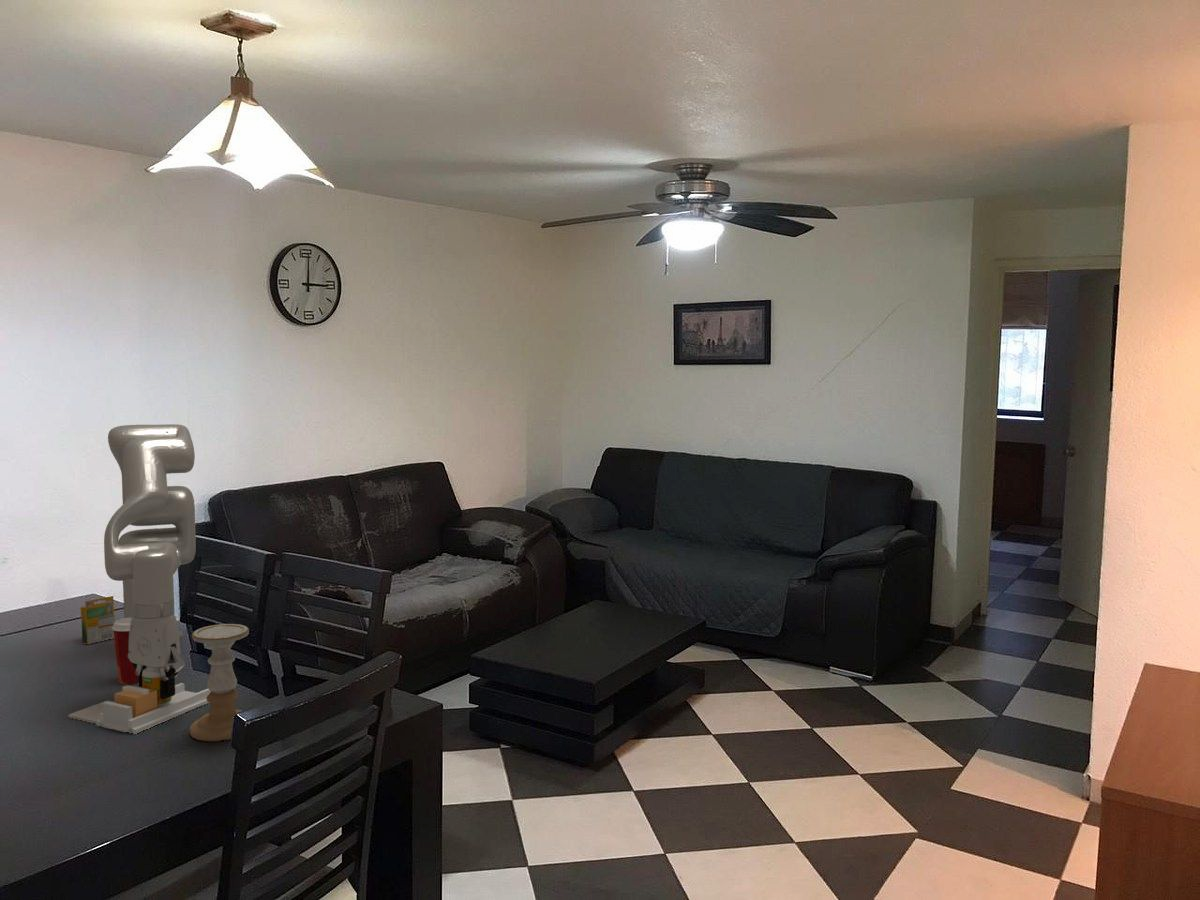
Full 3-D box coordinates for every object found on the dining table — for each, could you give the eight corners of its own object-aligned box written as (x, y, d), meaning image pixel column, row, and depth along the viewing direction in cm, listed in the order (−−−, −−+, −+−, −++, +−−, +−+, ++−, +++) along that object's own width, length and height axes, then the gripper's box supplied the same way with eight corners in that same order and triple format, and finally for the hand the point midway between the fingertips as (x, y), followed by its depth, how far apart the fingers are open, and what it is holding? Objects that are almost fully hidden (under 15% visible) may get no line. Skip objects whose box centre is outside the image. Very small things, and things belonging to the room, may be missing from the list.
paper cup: (158, 678, 212) (156, 618, 211) (129, 688, 205) (127, 627, 204) (135, 673, 216) (133, 614, 214) (105, 682, 209) (103, 622, 207)
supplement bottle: (138, 708, 188) (136, 662, 187) (149, 699, 193) (147, 654, 192) (165, 708, 188) (164, 661, 187) (175, 698, 194) (174, 653, 193)
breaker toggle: (136, 709, 189) (135, 682, 189) (157, 714, 187) (156, 686, 186) (115, 717, 185) (114, 689, 184) (136, 722, 182) (135, 694, 182)
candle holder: (191, 746, 174) (188, 643, 172) (187, 724, 185) (184, 626, 183) (260, 735, 180) (257, 634, 178) (252, 714, 191) (250, 619, 189)
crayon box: (110, 636, 244) (108, 594, 243) (115, 638, 242) (114, 595, 241) (81, 643, 238) (79, 599, 237) (87, 645, 236) (85, 601, 235)
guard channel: (178, 693, 202) (177, 671, 202) (215, 701, 198) (214, 678, 197) (96, 725, 184) (95, 701, 183) (135, 734, 179) (134, 709, 179)
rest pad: (107, 703, 196) (106, 700, 196) (137, 709, 192) (137, 706, 192) (68, 717, 188) (67, 714, 188) (98, 724, 184) (98, 721, 184)
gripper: (108, 609, 189) (111, 694, 190) (169, 619, 182) (172, 707, 184) (139, 600, 196) (142, 683, 197) (199, 610, 189) (202, 695, 191)
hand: (157, 694), depth 190 cm, fingers closed on supplement bottle, 5 cm apart
